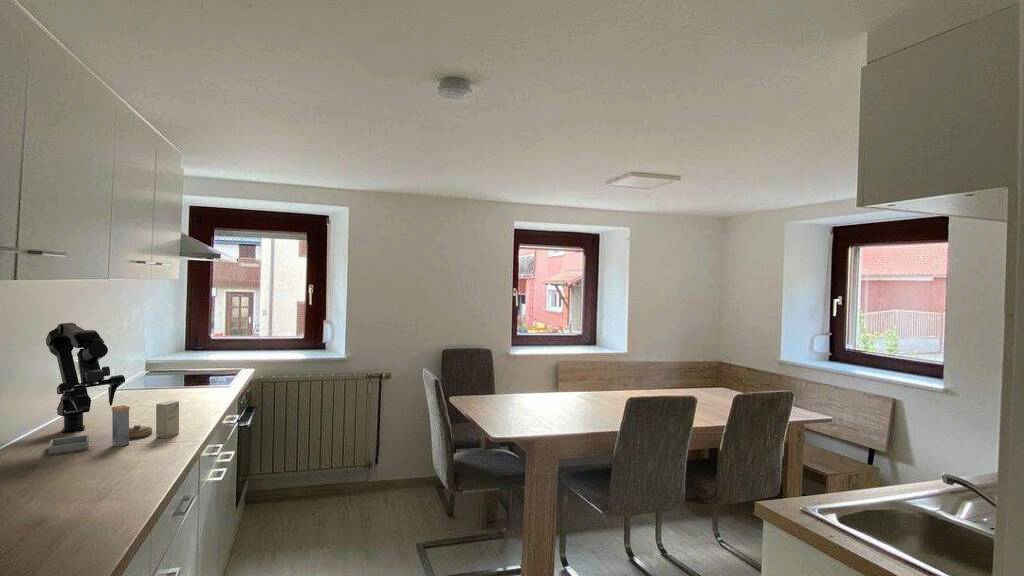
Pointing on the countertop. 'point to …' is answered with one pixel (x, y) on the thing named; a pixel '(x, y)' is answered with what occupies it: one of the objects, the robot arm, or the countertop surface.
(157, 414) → the skincare box
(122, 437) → the pin
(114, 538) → the countertop surface
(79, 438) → the tray
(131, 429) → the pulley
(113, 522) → the countertop surface
